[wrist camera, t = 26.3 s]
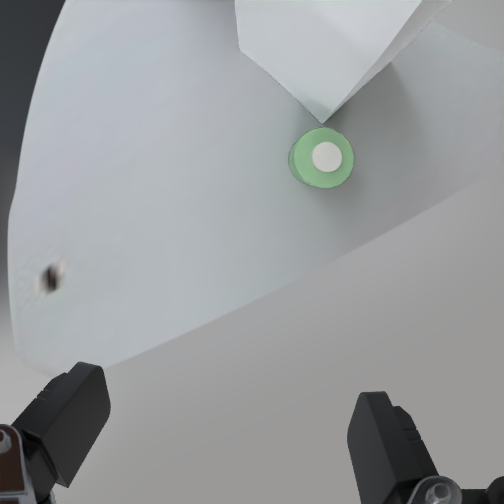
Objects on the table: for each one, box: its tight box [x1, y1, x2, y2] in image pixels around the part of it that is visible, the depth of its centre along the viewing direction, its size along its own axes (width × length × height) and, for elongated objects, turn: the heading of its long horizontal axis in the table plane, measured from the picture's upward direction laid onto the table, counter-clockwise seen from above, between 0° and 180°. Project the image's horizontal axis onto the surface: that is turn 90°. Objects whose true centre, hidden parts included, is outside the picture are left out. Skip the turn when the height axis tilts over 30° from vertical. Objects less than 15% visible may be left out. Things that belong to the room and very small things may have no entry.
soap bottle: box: [288, 128, 354, 188], centre depth 28 cm, size 5×5×8 cm
